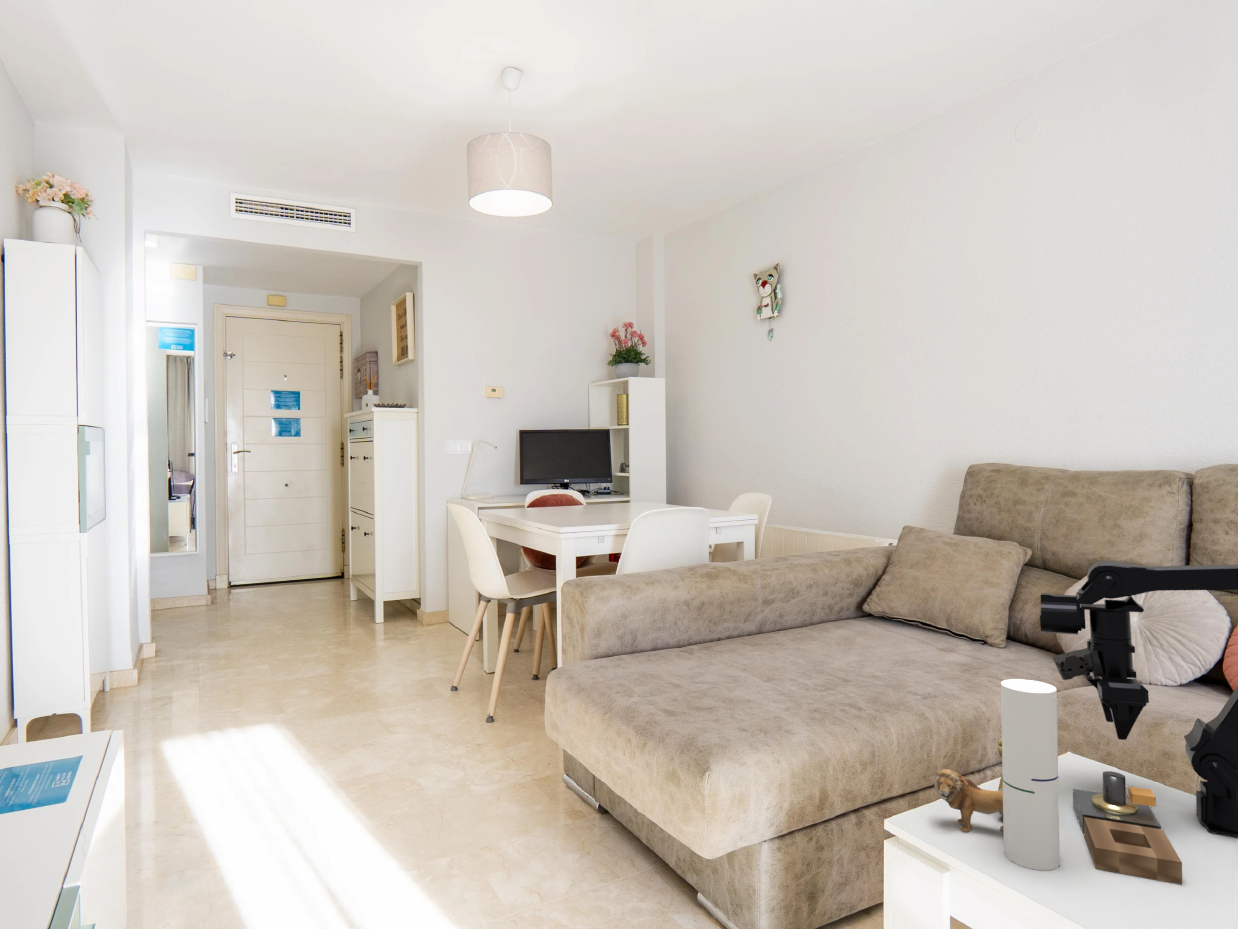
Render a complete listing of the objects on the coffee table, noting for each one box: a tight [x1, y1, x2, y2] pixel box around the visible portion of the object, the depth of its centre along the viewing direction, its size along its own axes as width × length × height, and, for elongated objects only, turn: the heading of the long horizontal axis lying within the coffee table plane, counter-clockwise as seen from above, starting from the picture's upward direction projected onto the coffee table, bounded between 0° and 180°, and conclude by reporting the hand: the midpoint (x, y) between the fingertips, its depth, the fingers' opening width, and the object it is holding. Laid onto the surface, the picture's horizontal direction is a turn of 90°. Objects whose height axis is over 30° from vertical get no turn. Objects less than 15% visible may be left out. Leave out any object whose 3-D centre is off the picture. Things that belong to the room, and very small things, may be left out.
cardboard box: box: [1127, 786, 1157, 808], centre depth 116 cm, size 3×3×2 cm
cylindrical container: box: [1000, 678, 1061, 871], centre depth 107 cm, size 7×7×25 cm
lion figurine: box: [934, 768, 1004, 833], centre depth 115 cm, size 15×5×9 cm, turn 70°
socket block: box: [1072, 788, 1162, 835], centre depth 116 cm, size 10×10×3 cm
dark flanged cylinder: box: [1092, 770, 1138, 815], centre depth 116 cm, size 6×6×8 cm
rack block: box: [1083, 817, 1183, 885], centre depth 106 cm, size 10×10×3 cm
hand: (1115, 730), depth 123 cm, fingers open, 9 cm apart
